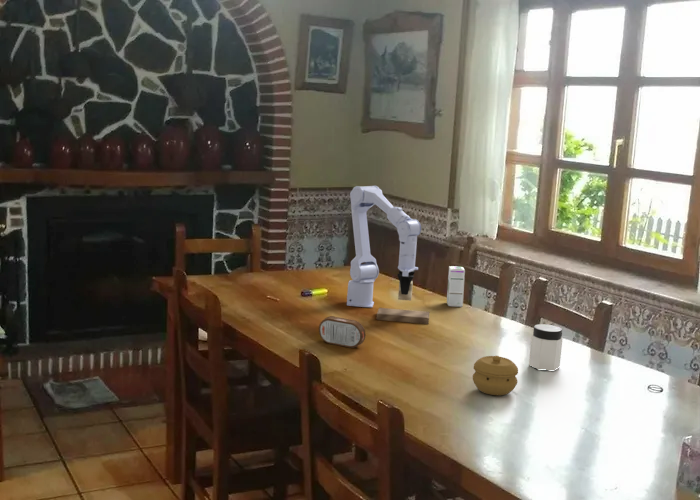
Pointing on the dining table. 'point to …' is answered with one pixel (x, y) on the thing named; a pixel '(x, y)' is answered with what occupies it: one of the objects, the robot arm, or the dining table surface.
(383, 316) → the walnut slab
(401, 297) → the oak block
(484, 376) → the pot
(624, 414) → the dining table surface
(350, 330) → the tin
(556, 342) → the jar
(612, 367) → the dining table surface
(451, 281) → the syrup box
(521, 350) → the dining table surface
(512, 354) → the dining table surface
